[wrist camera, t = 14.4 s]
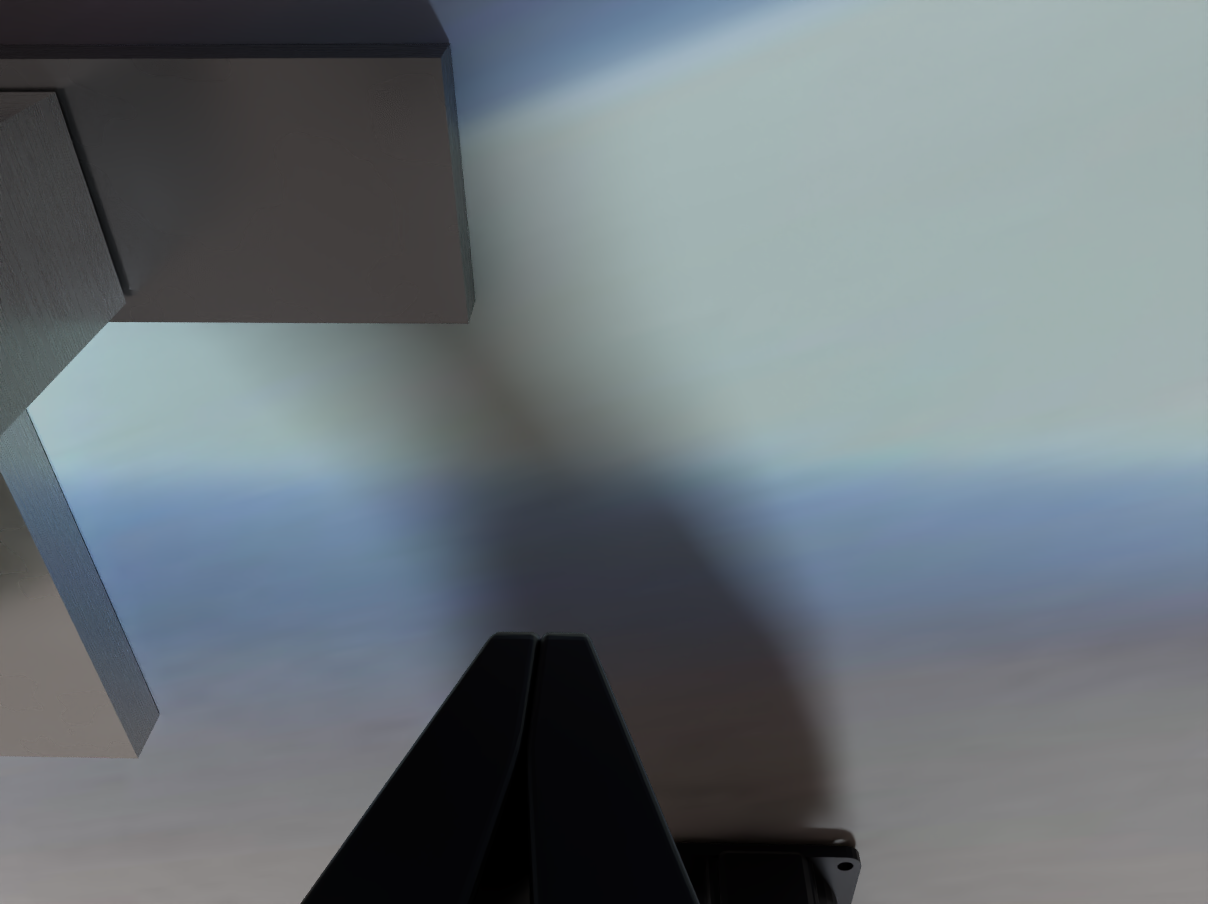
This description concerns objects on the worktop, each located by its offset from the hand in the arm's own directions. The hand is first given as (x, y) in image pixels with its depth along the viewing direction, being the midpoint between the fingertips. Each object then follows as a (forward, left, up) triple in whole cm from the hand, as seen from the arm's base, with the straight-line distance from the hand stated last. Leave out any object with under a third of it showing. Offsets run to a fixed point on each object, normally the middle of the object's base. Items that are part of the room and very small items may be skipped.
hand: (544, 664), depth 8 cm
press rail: (0, +8, -12) cm, 15 cm away
